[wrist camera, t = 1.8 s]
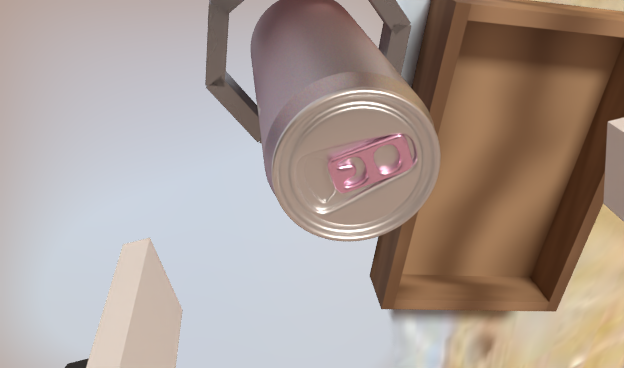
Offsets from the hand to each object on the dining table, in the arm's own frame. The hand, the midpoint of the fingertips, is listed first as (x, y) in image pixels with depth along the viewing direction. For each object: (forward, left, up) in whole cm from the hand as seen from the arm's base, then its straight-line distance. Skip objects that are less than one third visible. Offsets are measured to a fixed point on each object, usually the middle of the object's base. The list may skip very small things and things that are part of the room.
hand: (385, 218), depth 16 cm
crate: (+13, -6, -18) cm, 23 cm away
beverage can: (0, 0, -18) cm, 18 cm away
